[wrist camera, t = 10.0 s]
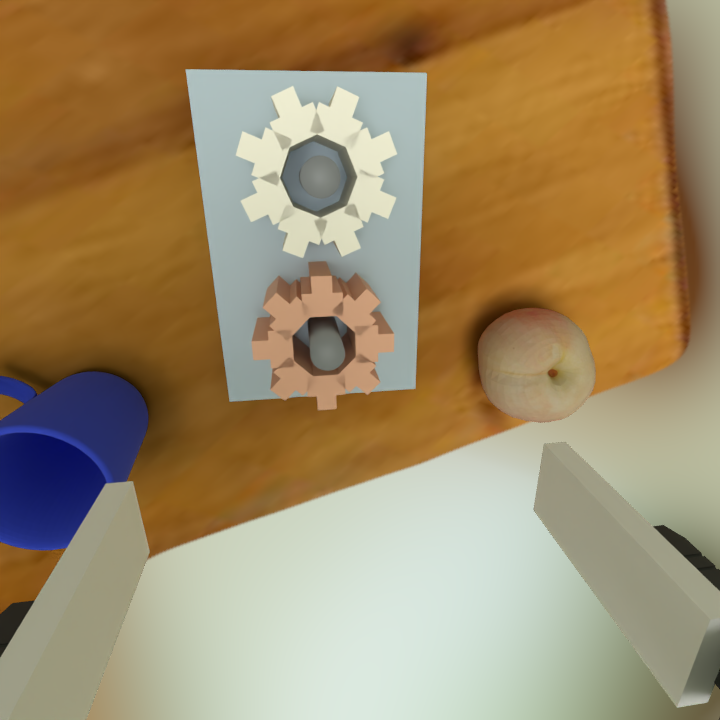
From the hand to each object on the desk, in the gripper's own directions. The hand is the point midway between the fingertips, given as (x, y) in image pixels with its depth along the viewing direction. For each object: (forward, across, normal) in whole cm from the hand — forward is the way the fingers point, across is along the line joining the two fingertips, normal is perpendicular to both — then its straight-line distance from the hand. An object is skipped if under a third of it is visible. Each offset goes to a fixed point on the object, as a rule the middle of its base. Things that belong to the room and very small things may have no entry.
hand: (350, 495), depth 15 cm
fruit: (+21, +15, -3) cm, 26 cm away
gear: (+19, 0, +10) cm, 21 cm away
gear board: (+21, 0, +5) cm, 21 cm away
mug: (+21, -18, -5) cm, 28 cm away
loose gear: (+19, 0, 0) cm, 19 cm away
